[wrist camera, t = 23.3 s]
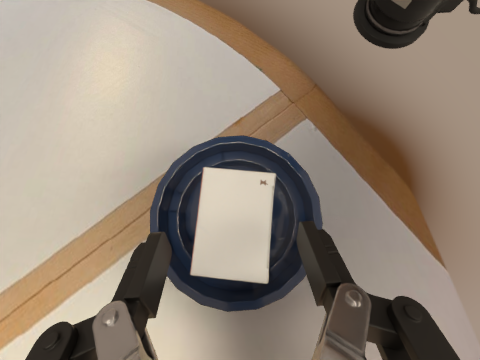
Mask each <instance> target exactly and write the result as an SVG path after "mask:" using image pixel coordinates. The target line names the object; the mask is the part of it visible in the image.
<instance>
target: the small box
mask: <svg viewBox="0 0 480 360" xmlns="http://www.w3.org/2000/svg"><path fill="white" fill-rule="evenodd" d="M275 179H276V174H275V173H267V172H255V171H243V170H232V169H221V168H210V167H204V168H203V173H202V181H201V189H200V198H199V206H198V214H197V222H196V230H195V238H194V246H193V254H192V263H191V271H190V275H193V276H202V277H210V278H219V279H227V280H236V281H245V282H254V283H263V284H267V283H268V281H269V252H270V238H271V222H272V209H273V196H274V187H275Z"/></svg>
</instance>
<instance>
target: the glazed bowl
mask: <svg viewBox="0 0 480 360" xmlns="http://www.w3.org/2000/svg"><path fill="white" fill-rule="evenodd" d="M204 167H210V168H221V169H232V170H243V171H255V172H267V173H275V174H276V179H275V187H274V196H273V209H272V222H271V238H270V252H269V281H268V283H267V284H263V283H254V282H245V281H236V280H227V279H219V278H210V277H202V276H193V275H190V271H191V263H192V254H193V246H194V238H195V230H196V222H197V214H198V206H199V198H200V189H201V181H202V173H203V168H204ZM304 221H313V222H314V223H315V225H316V227H317V229H318V230H322V226H323V222H322V215H321V208H320V201H319V196H318V194H317V192H316V190H315V188H314V186H313V184H312V182H311V180H310V178H309V175H308V173H307V172H306V171H305V170H304V169H303V168H302V167H301V166H300V165H299V164H298V163H297V161H296V160H295V159H294V158H293V157H292V156H291V155H290V154H289V153H287V152H285V151H284V150H282V149H280V148H279V147H277V146H275V145H273V144H272V143H270V142H268V141H266V140H261V139H257V138H252V137H248V136H244V135H243V136H242V135H241V136H228V137H218V138H214V139H212V140H209V141H207V142H204V143H201V144H199V145H196V146H194V147H192V148H191V149H190V150H189V151H187V152H186V153H185V154H184V155H182V156H181V157H180V158H178V159H177V160H176V161H175V162H174V163H173V164H172V165H171V167H170V168H169V170H168V171H167V172H166V174H165V175H164V177H163V178H162V180H161V181H160V183H159V185H158V187H157V190H156V193H155V197H154V200H153V203H152V206H151V209H150V233H153V232H165V234H166V236H167V238H168V241H169V243H170V245H171V249H172V256H171V260H170V264H169V268H168V272H167V276H168V277H169V279H170V280H171V282H172V283H173V284H174V286H175V287H177V289H179V290H180V291H182V292H183V293H184V294H186V295H187V296H189V297H190V298H192V299H193V300H195V301H196V302H198V303H199V304H201V305H204V306H208V307H212V308H216V309H219V310H223V311H227V312H231V311H243V310H256V309H259V308H261V307H264V306H266V305H268V304H270V303H273V302H275V301H277V300H279V299H281V298H283V297H285V296H286V295H287V294H288V293H289V292H290V291H291V290H292V289H293V288H294V287H295V286H296V285H297V284H298V283H300V282H301V281H302V280H303V279H304V277H305V276H306V271H305V268H304V265H303V262H302V259H301V256H300V253H299V250H298V247H297V232H298V227H299V222H304Z"/></svg>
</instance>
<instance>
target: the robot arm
mask: <svg viewBox="0 0 480 360" xmlns="http://www.w3.org/2000/svg"><path fill="white" fill-rule="evenodd" d="M462 1H463V0H367V1H366V3H365V16H366V18H367V20H368V22H369V23H370V25H371V26H372V27H373V28H374V29H376V30H377V31H379V32H380V33H383V34H385V35H389V36H396V37H397V36H405V35H408V34H410V33H412V32H414V31H415V30H416V29H417V28H418V27H420V26H425V25H426V24H427V22H428V21H429V20H430V19H431V18H432V17H433V16H434V15H435V14H436V13H449V12H452V11H453V10H454V9H455V8H456V7H457V6H458V5H459V4H460V3H461V2H462ZM467 1H468V2H469V12H470V13H471V14H480V8H478V7H477V1H478V0H467ZM297 247H298V250H299V253H300V256H301V259H302V262H303V265H304V268H305V271H306V274H307V277H308V280H309V283H310V286H311V289H312V292H313V295H314V298H315V301H316V304H317V306H324V308H325V311H326V314H325V318H324V321H323V324H322V328H321V331H320V334H319V338H318V341H317V345H316V348H315V351H314V354H313V357H312V359H311V360H367V359H366V358H365V348H366V341H368V342H372V343H375V344H376V345H377V348H378V350H379V352H380V355H381V357H382V359H383V360H460V359H459V357H458V356H457V354H456V353H455V351H454V350H453V348H452V347H451V345H450V344H449V342H448V341H447V339H446V338H445V336H444V335H443V333H442V332H441V330H440V329H439V327H438V326H437V324H436V323H435V321H434V320H433V319H432V317H431V316H430V314H429V313H428V311H427V310H426V309H425V308H424V307H423V306H422V305H421V304H420V303H418V302H417V301H415V300H413V299H411V298H409V297H405V296H398V297H396V298H394V299H393V300H389V299H385V298H381V297H377V296H373V295H371V294H368V293H366V292H365V291H364V290H363V289H362V288H360V287H359V286H357V285H356V283H355V282H354V280H353V279H352V277H351V275H350V273H349V271H348V269H347V267H346V265H345V263H344V261H343V259H342V258H341V256H340V254H339V253H338V250H337V248H336V246H335V244H334V242H333V240H332V238H331V236H330V235H329V234H328V233H327V232H325V231H324V230H323V229H322V230H318V229H317V227H316V225H315V223H314V222H313V221H304V222H299V227H298V232H297ZM171 256H172V249H171V245H170V243H169V241H168V238H167V236H166V234H165V232H153V233H150V234H149V236H148V238H147V241H146V242H145V243H141V244H140V245H139V246H138V247H137V248H136V249H135V250H134V252H133V254H132V257H131V259H130V262H129V264H128V266H127V269H126V270H125V273H124V275H123V277H122V279H121V282H120V284H119V286H118V288H117V291H116V293H115V295H114V297H113V299H112V301H111V302H110V303H109V304H107V305H106V306H104V307H103V308H102V309H101V310H100V311H99V313H98V314H97V315H96V316H94V317H91V318H89V319H87V320H84V321H82V322H79V323H77V324H74V325H71V324H70V323H68V322H59V323H57V324H55V325H53V326H51V327H50V328H48V329H47V330H46V331H45V332H44V333H43V334H42V335H41V336H40V337H39V338H38V339H37V341H36V342H35V344H34V346H33V347H32V349H31V351H30V352H29V354H28V356H27V357H26V359H25V360H158V358H157V355H156V352H155V350H154V347H153V344H152V342H151V339H150V336H149V334H148V331H147V328H146V324H147V321H148V318H156V314H157V310H158V307H159V303H160V299H161V295H162V291H163V287H164V284H165V280H166V276H167V272H168V268H169V264H170V260H171Z"/></svg>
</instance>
